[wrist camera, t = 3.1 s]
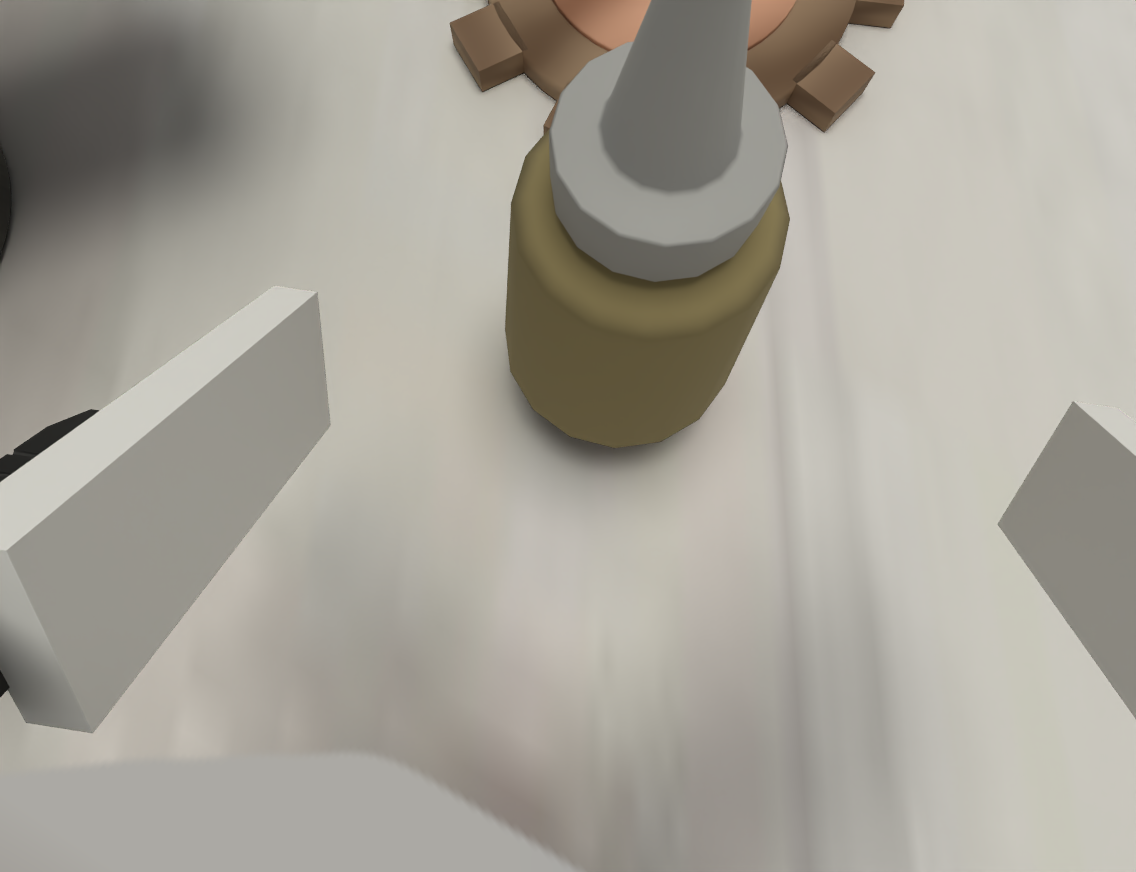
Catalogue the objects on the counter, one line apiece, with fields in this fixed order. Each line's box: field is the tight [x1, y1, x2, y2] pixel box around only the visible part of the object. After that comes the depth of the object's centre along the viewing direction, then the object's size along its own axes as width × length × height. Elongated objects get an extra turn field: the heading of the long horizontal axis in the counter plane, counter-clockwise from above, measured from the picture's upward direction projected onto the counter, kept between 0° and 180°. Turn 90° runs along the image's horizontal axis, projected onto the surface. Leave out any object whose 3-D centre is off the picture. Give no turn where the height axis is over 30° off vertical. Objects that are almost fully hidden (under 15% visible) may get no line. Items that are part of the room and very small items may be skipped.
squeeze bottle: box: [505, 0, 790, 448], centre depth 18 cm, size 8×8×18 cm
